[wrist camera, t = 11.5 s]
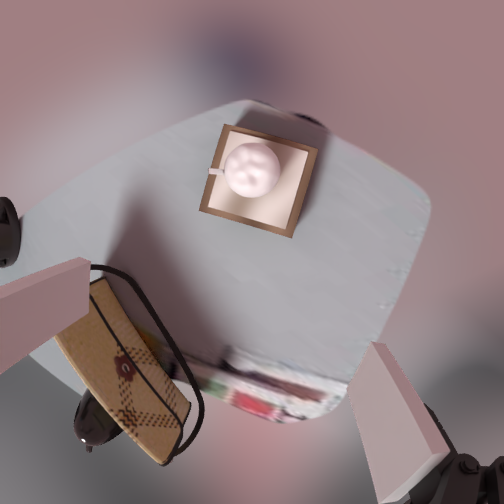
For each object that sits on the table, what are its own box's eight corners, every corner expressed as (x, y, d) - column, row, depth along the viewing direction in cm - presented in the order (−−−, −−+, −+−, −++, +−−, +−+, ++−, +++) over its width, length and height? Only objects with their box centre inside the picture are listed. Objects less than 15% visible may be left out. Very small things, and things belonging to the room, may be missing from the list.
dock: (207, 209, 35) (198, 210, 30) (230, 132, 33) (223, 123, 28) (290, 233, 34) (292, 238, 30) (313, 154, 32) (318, 148, 28)
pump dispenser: (100, 396, 44) (62, 440, 29) (98, 361, 42) (52, 406, 27) (142, 418, 44) (111, 469, 29) (145, 384, 41) (106, 440, 27)
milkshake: (229, 160, 29) (206, 141, 19) (278, 156, 29) (278, 135, 19) (232, 200, 30) (210, 200, 20) (281, 197, 29) (282, 195, 20)
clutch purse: (220, 402, 41) (199, 469, 26) (188, 410, 42) (161, 471, 27) (119, 247, 37) (49, 272, 22) (91, 267, 38) (25, 296, 24)
